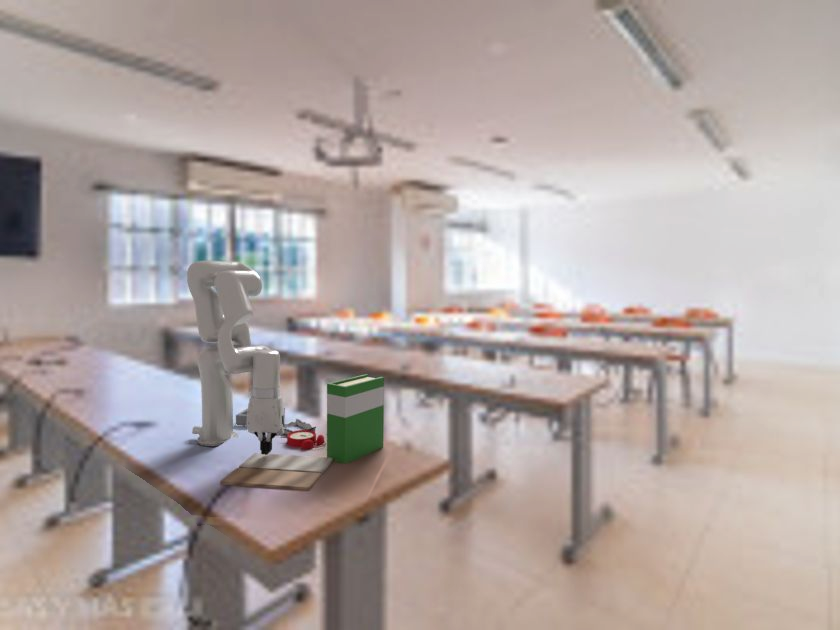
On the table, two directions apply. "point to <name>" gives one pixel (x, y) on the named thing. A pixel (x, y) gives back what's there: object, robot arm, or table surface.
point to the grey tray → (243, 417)
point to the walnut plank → (271, 478)
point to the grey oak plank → (287, 463)
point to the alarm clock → (304, 439)
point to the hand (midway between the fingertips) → (266, 452)
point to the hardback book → (354, 417)
